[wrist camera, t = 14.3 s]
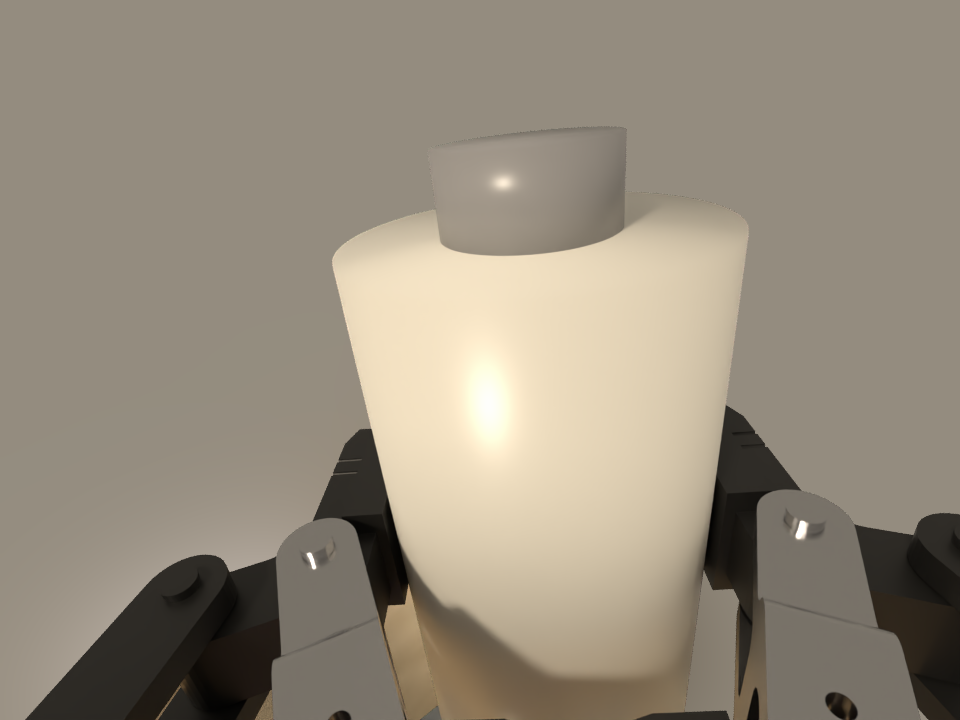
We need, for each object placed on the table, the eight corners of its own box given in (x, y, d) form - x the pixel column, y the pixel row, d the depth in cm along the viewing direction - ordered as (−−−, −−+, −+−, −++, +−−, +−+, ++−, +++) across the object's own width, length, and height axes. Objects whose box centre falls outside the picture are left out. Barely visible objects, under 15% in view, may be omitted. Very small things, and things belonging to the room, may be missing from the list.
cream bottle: (650, 964, 10) (759, 158, 3) (416, 821, 13) (205, 183, 6) (686, 693, 15) (765, 104, 8) (507, 625, 17) (448, 131, 10)
